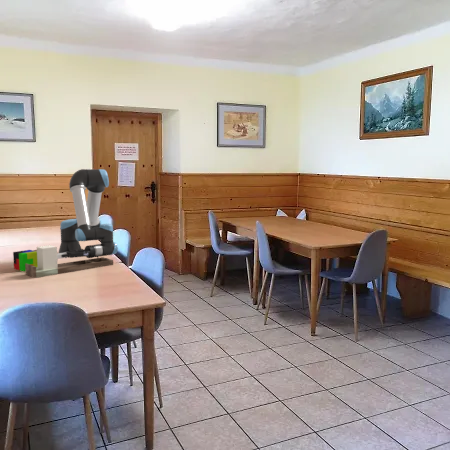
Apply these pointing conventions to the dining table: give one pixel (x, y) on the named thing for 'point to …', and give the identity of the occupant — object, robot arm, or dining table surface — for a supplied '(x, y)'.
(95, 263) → the trap box
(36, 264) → the puzzle toy
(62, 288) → the dining table surface
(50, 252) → the block
